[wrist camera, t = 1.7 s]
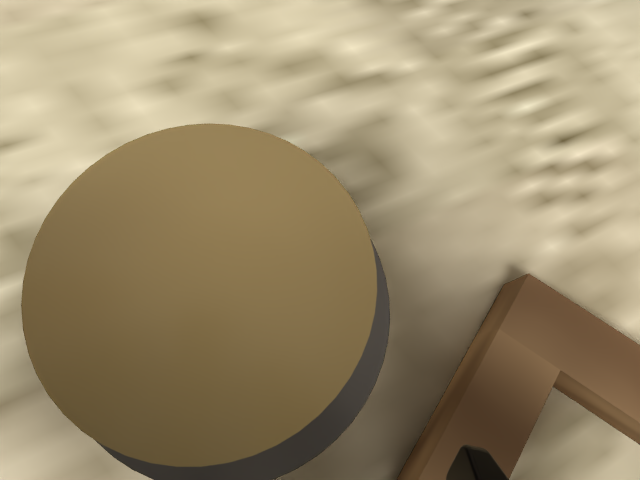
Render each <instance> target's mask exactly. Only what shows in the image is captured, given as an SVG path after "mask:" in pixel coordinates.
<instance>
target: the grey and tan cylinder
mask: <svg viewBox="0 0 640 480" xmlns="http://www.w3.org/2000/svg"><path fill="white" fill-rule="evenodd" d="M21 307H22V321H23V331H24V336H25V340H26V345H27V349H28V353H29V356H30V358H31V361H32V363H33V366H34V369H35V371H36V374H37V376H38V378H39V379H40V381H41V383H42V385H43V386H44V388H45V390H46V392H47V393H48V395H49V396H50V398H51V399H52V400H53V401H54V403H55V404H56V405H57V406H58V408H59V409H60V410H61V411H62V413H63V414H64V415H65V416H66V417H67V418H68V419H69V420H71V421H72V422H73V423H74V424H75V425H76V426H77V427H78V428H79V429H80V430H81V431H83V432H84V433H86V434H87V435H89V436H90V437H92V438H93V439H94V440H95V441H96V442H97V443H99V444H100V445H101V446H102V447H103V448H104V449H105V450H106V451H107V452H108V453H109V454H111V455H112V456H113V457H114V458H116V459H117V460H119V461H120V462H122V463H123V464H125V465H126V466H128V467H129V468H131V469H132V470H134V471H137V472H139V473H141V474H143V475H145V476H147V477H149V478H152V479H154V480H273V479H275V478H278V477H280V476H282V475H284V474H286V473H289V472H291V471H293V470H295V469H297V468H299V467H300V466H302V465H303V464H305V463H307V462H308V461H310V460H311V459H313V458H314V457H316V456H317V455H319V454H320V453H321V452H322V451H323V450H325V449H326V448H327V447H328V446H329V445H331V444H332V443H333V442H334V441H335V440H336V439H337V438H338V437H339V436H340V435H341V434H342V433H343V432H344V431H345V429H346V428H347V427H348V426H349V425H350V424H351V423H352V421H353V420H354V419H355V417H356V416H357V414H358V413H359V411H360V410H361V409H362V407H363V406H364V404H365V403H366V401H367V399H368V397H369V395H370V393H371V391H372V389H373V387H374V385H375V383H376V380H377V378H378V375H379V372H380V369H381V367H382V364H383V361H384V356H385V352H386V347H387V343H388V334H389V323H390V311H389V295H388V289H387V283H386V278H385V275H384V271H383V268H382V265H381V261H380V258H379V256H378V254H377V252H376V249H375V247H374V245H373V243H372V241H371V239H370V237H369V233H368V230H367V227H366V225H365V223H364V221H363V218H362V216H361V214H360V212H359V210H358V208H357V206H356V205H355V203H354V202H353V200H352V198H351V197H350V195H349V193H348V192H347V191H346V190H345V188H344V187H343V186H342V185H341V183H340V182H339V181H338V180H337V178H336V177H335V176H334V175H333V174H332V173H331V172H330V171H329V170H328V169H326V168H325V167H324V166H323V165H322V164H321V163H320V162H319V161H317V160H316V159H315V158H313V157H312V156H311V155H309V154H308V153H307V152H305V151H304V150H302V149H300V148H298V147H296V146H295V145H293V144H291V143H289V142H288V141H285V140H283V139H281V138H278V137H276V136H273V135H271V134H269V133H265V132H262V131H258V130H255V129H251V128H246V127H240V126H234V125H225V124H196V125H185V126H179V127H174V128H168V129H164V130H161V131H158V132H154V133H151V134H147V135H145V136H142V137H140V138H138V139H135V140H133V141H131V142H128V143H126V144H124V145H122V146H121V147H119V148H117V149H115V150H114V151H112V152H110V153H108V154H107V155H105V156H104V157H103V158H101V159H100V160H98V161H97V162H96V163H94V164H93V165H91V166H90V167H89V168H88V169H87V170H86V171H85V172H83V173H82V174H81V175H80V176H79V177H78V178H77V179H76V180H75V181H74V182H73V183H72V184H71V185H70V186H69V187H68V188H67V190H66V191H65V192H64V193H63V194H62V195H61V196H60V198H59V199H58V200H57V202H56V203H55V205H54V206H53V208H52V209H51V211H50V212H49V214H48V215H47V217H46V218H45V220H44V222H43V224H42V226H41V228H40V230H39V232H38V234H37V236H36V238H35V241H34V244H33V247H32V249H31V252H30V255H29V258H28V261H27V266H26V271H25V275H24V280H23V290H22V304H21Z"/></svg>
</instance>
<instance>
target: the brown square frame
mask: <svg viewBox="0 0 640 480" xmlns="http://www.w3.org/2000/svg"><path fill="white" fill-rule="evenodd" d="M552 387H555V388H556V389H558V390H559V391H561V392H562V393H564V394H565V395H567V396H568V397H570V398H571V399H573V400H574V401H576V402H577V403H579V404H580V405H582V406H583V407H585V408H586V409H588V410H589V411H591V412H592V413H594V414H595V415H597V416H598V417H600V418H601V419H603V420H604V421H606V422H607V423H608V424H610V425H611V426H613V427H614V428H616V429H617V430H619V431H620V432H622V433H623V434H625V435H626V436H628V437H629V438H631V439H632V440H634V441H635V442H637V443H638V444H640V345H639V344H637V343H636V342H634V341H633V340H631V339H629V338H628V337H626V336H625V335H623V334H622V333H620V332H619V331H617V330H615V329H614V328H612V327H611V326H609V325H608V324H606V323H605V322H603V321H602V320H600V319H598V318H597V317H595V316H594V315H592V314H591V313H589V312H588V311H586V310H584V309H583V308H581V307H580V306H578V305H577V304H575V303H574V302H572V301H571V300H569V299H567V298H566V297H564V296H563V295H561V294H560V293H558V292H557V291H555V290H553V289H552V288H550V287H549V286H547V285H546V284H544V283H543V282H541V281H540V280H538V279H536V278H535V277H533V276H532V275H530V274H527V275H524V276H522V277H520V278H518V279H516V280H513V281H511V282H509V283H507V284H504V286H503V287H502V289H501V291H500V293H499V295H498V296H497V298H496V300H495V302H494V304H493V306H492V307H491V309H490V311H489V313H488V315H487V316H486V318H485V320H484V322H483V324H482V326H481V327H480V329H479V331H478V333H477V335H476V336H475V338H474V340H473V342H472V344H471V346H470V347H469V349H468V351H467V353H466V355H465V356H464V358H463V360H462V362H461V364H460V365H459V367H458V369H457V371H456V373H455V375H454V376H453V378H452V380H451V382H450V384H449V385H448V387H447V389H446V391H445V393H444V395H443V396H442V398H441V400H440V402H439V404H438V405H437V407H436V409H435V411H434V413H433V414H432V416H431V418H430V420H429V422H428V424H427V425H426V427H425V429H424V431H423V433H422V434H421V436H420V438H419V440H418V442H417V444H416V445H415V447H414V449H413V451H412V453H411V454H410V456H409V458H408V460H407V462H406V464H405V465H404V467H403V469H402V471H401V473H400V474H399V476H398V478H397V480H446V476H447V472H448V470H449V468H450V466H451V464H452V463H453V461H454V459H455V457H456V455H457V453H458V451H459V449H460V448H461V446H463V445H465V444H468V445H472V446H477V447H481V448H484V449H486V450H487V451H488V452H489V453H490V454H491V455H492V457H493V458H494V459H495V461H496V462H497V464H498V465H499V466H500V468H501V469H502V470H503V472H504V473H505V475H506V476H507V477H508V479H509V478H510V476H511V474H512V471H513V469H514V467H515V465H516V463H517V461H518V459H519V457H520V454H521V452H522V450H523V448H524V446H525V444H526V442H527V440H528V438H529V435H530V433H531V431H532V429H533V427H534V425H535V423H536V421H537V419H538V416H539V414H540V412H541V410H542V408H543V406H544V404H545V402H546V400H547V397H548V395H549V393H550V391H551V389H552Z"/></svg>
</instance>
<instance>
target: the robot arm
mask: <svg viewBox="0 0 640 480" xmlns="http://www.w3.org/2000/svg"><path fill="white" fill-rule="evenodd" d="M446 480H509V479H508V477H507V476H506V475H505V473H504V472H503V470H502V469H501V468H500V466H499V465H498V464H497V462H496V461H495V459H494V458H493V457H492V455H491V454H490V453H489V452H488V451H487V450H486V449H484V448H481V447H477V446H472V445H468V444H465V445H463V446H461V448H460V449H459V451H458V453H457V455H456V457H455V459H454V461H453V463H452V464H451V466H450V468H449V470H448V472H447V476H446Z"/></svg>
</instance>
